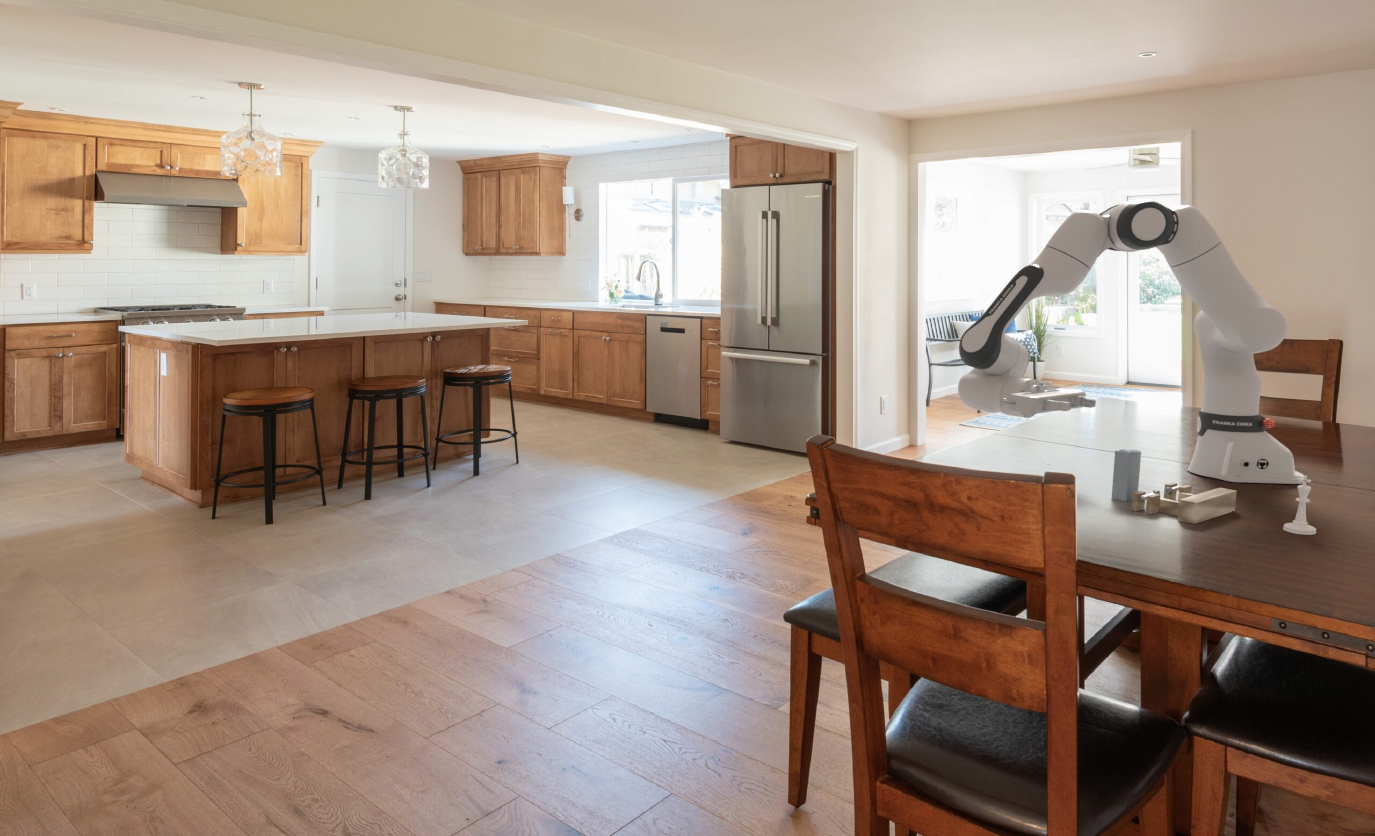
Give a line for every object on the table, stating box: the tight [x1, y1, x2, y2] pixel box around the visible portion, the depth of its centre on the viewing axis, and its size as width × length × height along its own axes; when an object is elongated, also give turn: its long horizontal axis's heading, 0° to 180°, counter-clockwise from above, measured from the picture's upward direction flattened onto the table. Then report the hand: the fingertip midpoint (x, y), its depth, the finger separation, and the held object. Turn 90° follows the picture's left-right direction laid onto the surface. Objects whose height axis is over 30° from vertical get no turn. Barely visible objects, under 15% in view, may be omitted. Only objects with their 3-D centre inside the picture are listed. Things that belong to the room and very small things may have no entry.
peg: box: [1111, 447, 1142, 503], centre depth 178 cm, size 4×4×10 cm
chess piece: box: [1282, 475, 1317, 536], centre depth 155 cm, size 5×5×10 cm
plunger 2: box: [1164, 485, 1182, 494], centre depth 175 cm, size 1×6×1 cm, turn 126°
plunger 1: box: [1141, 489, 1161, 501], centre depth 170 cm, size 1×6×1 cm, turn 126°
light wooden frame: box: [1130, 481, 1238, 525], centre depth 170 cm, size 12×16×4 cm
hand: (1081, 405), depth 187 cm, fingers open, 8 cm apart
